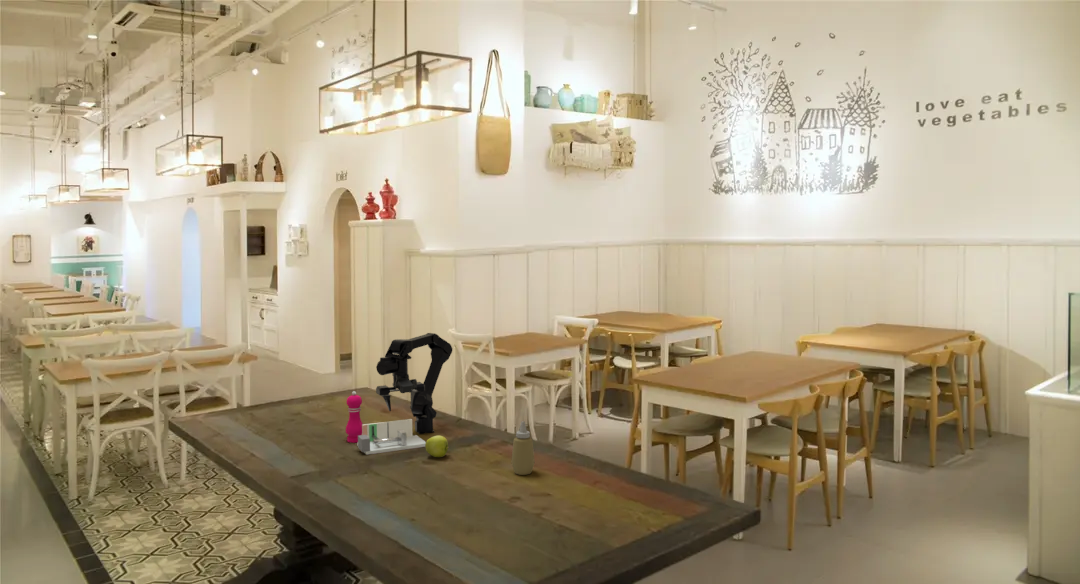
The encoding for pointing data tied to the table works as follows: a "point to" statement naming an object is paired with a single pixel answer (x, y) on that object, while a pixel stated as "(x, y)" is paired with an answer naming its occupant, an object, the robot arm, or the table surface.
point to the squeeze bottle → (523, 452)
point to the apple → (437, 446)
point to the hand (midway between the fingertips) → (401, 409)
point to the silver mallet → (401, 438)
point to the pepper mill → (354, 418)
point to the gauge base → (384, 432)
